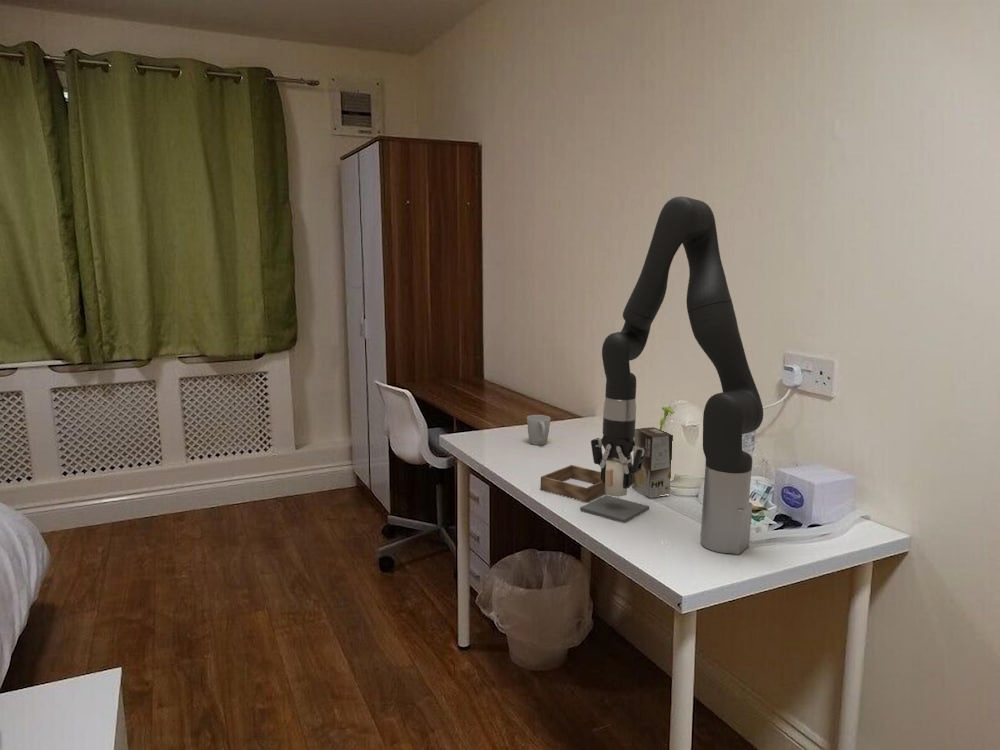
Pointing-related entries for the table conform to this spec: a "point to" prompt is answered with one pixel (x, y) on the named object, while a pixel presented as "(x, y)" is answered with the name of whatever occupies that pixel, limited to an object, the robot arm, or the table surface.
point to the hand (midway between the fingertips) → (615, 484)
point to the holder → (557, 486)
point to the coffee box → (653, 462)
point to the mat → (615, 508)
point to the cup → (538, 429)
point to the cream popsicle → (614, 478)
